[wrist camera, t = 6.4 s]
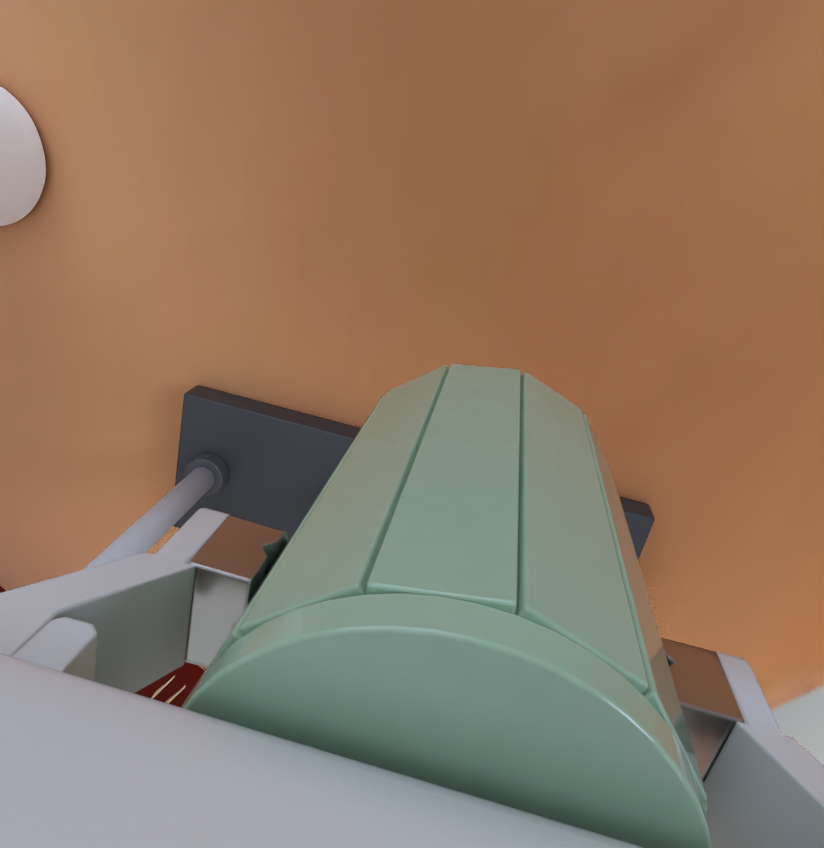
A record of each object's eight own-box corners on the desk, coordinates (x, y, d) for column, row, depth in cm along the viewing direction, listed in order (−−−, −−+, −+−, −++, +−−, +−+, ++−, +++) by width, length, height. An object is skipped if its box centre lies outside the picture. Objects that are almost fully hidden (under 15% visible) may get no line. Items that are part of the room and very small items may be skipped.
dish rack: (649, 504, 32) (721, 676, 21) (599, 627, 35) (639, 838, 24) (197, 384, 33) (38, 486, 22) (183, 512, 36) (35, 660, 25)
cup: (543, 319, 14) (571, 541, 5) (649, 552, 15) (799, 1008, 7) (303, 429, 16) (49, 723, 7) (419, 629, 17) (318, 1064, 9)
